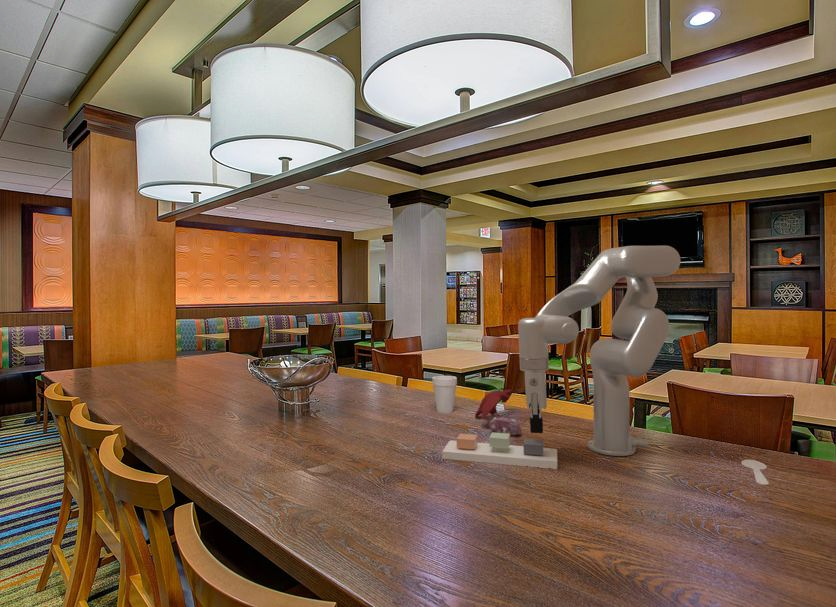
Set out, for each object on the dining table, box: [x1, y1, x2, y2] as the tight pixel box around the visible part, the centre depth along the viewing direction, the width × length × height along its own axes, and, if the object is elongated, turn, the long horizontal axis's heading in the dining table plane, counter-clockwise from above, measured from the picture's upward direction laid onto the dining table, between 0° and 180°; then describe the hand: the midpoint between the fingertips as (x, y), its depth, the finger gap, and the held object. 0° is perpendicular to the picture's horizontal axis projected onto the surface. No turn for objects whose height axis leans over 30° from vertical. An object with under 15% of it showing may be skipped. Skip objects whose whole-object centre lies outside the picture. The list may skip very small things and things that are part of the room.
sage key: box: [488, 431, 511, 448], centre depth 126 cm, size 5×5×2 cm
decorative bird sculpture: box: [474, 389, 514, 421], centre depth 166 cm, size 28×9×15 cm
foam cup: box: [432, 375, 458, 414], centre depth 178 cm, size 10×9×13 cm
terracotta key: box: [456, 433, 479, 449], centre depth 129 cm, size 5×5×2 cm
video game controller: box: [488, 416, 523, 437], centre depth 147 cm, size 10×5×7 cm, turn 62°
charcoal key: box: [523, 438, 545, 455], centre depth 124 cm, size 5×5×2 cm
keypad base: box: [441, 439, 558, 470], centre depth 126 cm, size 30×10×2 cm, turn 74°
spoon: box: [740, 458, 770, 486], centre depth 115 cm, size 5×18×1 cm, turn 151°
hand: (536, 431), depth 124 cm, fingers closed
